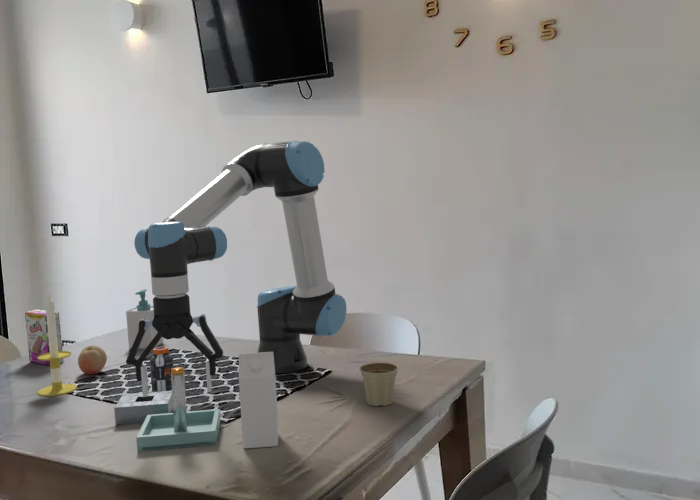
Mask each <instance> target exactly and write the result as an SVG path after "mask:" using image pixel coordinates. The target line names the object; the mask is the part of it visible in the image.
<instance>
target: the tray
mask: <svg viewBox="0 0 700 500" xmlns="http://www.w3.org/2000/svg"><path fill="white" fill-rule="evenodd" d="M186 412H187V432H176V433H174V420H173V412H172V413H164V414H152V415H147V417H146V419H145V421H144V422H142V425H141V427H140V429H139V431H138V433H137V436H136V449H137V452H147V451H149V452H150V451H159V450H169V449H170V450H171V449H173V450H174V449H182V448H184V449H185V448H193V447H194V448H195V447H206V446H217V443H218V437H219V433H220V432H219V431H220V425H221V413H220V412H221V411H220V408H216V409H203V410H191V411H186Z"/></svg>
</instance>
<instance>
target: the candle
mask: <svg viewBox="0 0 700 500" xmlns="http://www.w3.org/2000/svg"><path fill="white" fill-rule="evenodd" d="M44 304H45V310H46V317H47V328H48V339H49V350H50V352H49V353H45V354H42V355H39V356H38V357H37V358H38V360H42V361H50V367H49V368H50V378H51V385H49V386H45V387H43V388H41V389H39V390H38V391H37V395H38V396H41V397H56V396H57V397H58V396H63V395H66V394H69V393H72V391H73V392H74V390H75V391H76V390H77V389H78V386H77V385H76V384H73V383H63V381H62V370H61V368H62V367H61V363H60V359H63V360H64V359H66V358H69V357H70V356H71V355H72V352H70V351H67V350H62V351H58V343H57V332H56V321H55V312H56V310H55V302H54V300H53V299H52V298H51V294H50V292H48V293H47V299H46V301H45V303H44Z"/></svg>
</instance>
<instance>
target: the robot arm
mask: <svg viewBox="0 0 700 500" xmlns="http://www.w3.org/2000/svg"><path fill="white" fill-rule="evenodd" d="M324 174H325V162H324V159H323V156H322V153H321V152H320V150H319V149H318V147H316V146H315V145H314V144H313V143H311V142H309V141H302V140H291V141H283V142H282V141H281V142H272V143H270V142H269V143H268V142H267V143H260V144H257V145H255V146H253V147H250V148H249V149H247V150H245V151H243V152H242V153H240V154H238V155H237V156H235V157H234V158H233V159H231V160H230V161H229V162H228V163H226V164H225V165H224V166H223V167H222V169H221V173H220V174H219V175H218V176H216V178H214V179H213V180H212V181H211V182H209V183H208V184H207V185H206V186H205V187H203V188H202V189H201V190H199V191H198V192H197V193H196V194H194V195H193V196H192V197H190V198H189V199H188V200H187V201H186V202H185V203H184V204H182V205H181V206H180V207H178V208H177V209H176V210H175V211H174V212H172V213H171V214H170V215H168V216H167V217H166V218H164V219H163V220H162V222H155V223H151V224H150V225H149V226H148V227H144V228H141V229H140V230H139V231H138V232H137V233H136V235H135V238H134V241H133V242H134V244H133V245H134V248H135V251H136V253H137V255H139V257H140V258H142V259H146V260H149V265H150V279H151V280H150V281H151V292H152V295H153V299H152V306H153V308H154V319H153V320H146V319H145V318H143V319H141V320H140V322H139V331H138V334H137V336H136V338H135V341H134V343H133V346H132V348H131V349H129V350H130V351H129V353H128V354H127V358H126V359H125V363H126V364H127V365H132V366H134V367H135V376H136V378H135V379H136V381H138V382H141V389H142V390H141V391H142V393H143V397H147V395H148V393H149V391H150V390H149V382H148V381H149V380H148V369H147V363H144V361H145V360H146V359H147V357H149V355H150V353H151V352H153V349H154V347H155V345H156V344H157V343H158V341H159V340H160V339H161V337H163V339H164V340H171V339H182V338H184V337H185V339H187V340H188V341H189V342H190V343H191V344H192V345H193V346H194V347H195V348H196V349H197V350H198V351H199V352H200V353H201V354H202V355H203V356H204V357H205V358H206V360H205V373H206V374H205V375H206V392H207V393H210V392H211V393H212V390H213V385H212V384H213V382H212V376H216V372H217V367H216V366H217V365H216V360H217V359H221V358H223V355H224V351H223V349H222V347H221V345H220V344H219V342H218V340H217V338H216V337H215V335H214V333H213V331H212V330H211V328H210V327H209V324H208V322H207V317H206V315H205V314H200V315H199V316H198V315H197V316H192V313H191V304H190V303H191V302H190V296H189V294H187V293H188V292H190V289H189V287H190V286H189V278H188V277H189V276H188V273H189V271H188V265H189V264H195V263H200V262H207V261H211V262H212V261H214V260H216V259H220V258H221V257H223V256H224V255H225V253H226V252H227V249H228V238H227V235H226V233H225V232H224V231H223V230H222V229H221V227H219V226H208V225H209V224H210V223H211V222H212V221H214V220H215V218H217V217H218V216H219V215H221V214H222V213H223V212H224V211H225V210H226V209H227V208H228V207H230V206H231V205H232V204H233V203H234V202H235V201H237V200H238V199H239V198H240V197H245V196H248V195H249V194H251V193H252V192H253V191H255V190H258V189H261V188H262V189H263V188H273V191H274V194H275V195H274V196H275V198H276V199H279V200H280V201H281V202H282V203H281V204H282V207H283V214H284V220H285V224H286V225H285V226H286V230H287V236H288V237H287V238H288V241H289V247H290V254H291V259H292V264H293V270H294V276H295V281H296V286H295V285H290V286H281V287H276V288H275V287H274V288H270V289H266V290H265V289H264V290H263V291H260V292H259V293H258V295H257V306H256V308H257V320H258V331H259V332H258V334H259V345H258V348H257V352H256V353H261V352H273V354H274V364H275V375H276V374H286V373H287V374H289V373H294V372H298V371H301V370H303V369H306V367H307V366H308V356H307V354H306V352H305V348H304V347H303V344H302V341H301V335H306V336H307V335H308V336H316V337H320V338H321V337H332V336H335V335H337V334H338V333H339V332H340V331H341V329H342V328H343V325H344V323H345V321H346V317H347V302H346V300H345V298H344V297H343V296H342V295H341V294H337V293H336V288H335V284H334V283H333V282H331V281H329V280H328V273H327V267H326V261H325V256H324V248H323V244H322V243H323V242H322V237H321V236H322V235H321V231H320V224H319V219H318V212H317V207H316V199H315V196H316V195H317V192H319V184H320V183H322V181H323V179H324V178H325V175H324ZM193 324H196V326H197V327H200V330H201V332H202V334H204V337H205V338H206V340H207V342H208V344H209V345H210V346H211V348H212V350H213V351H214V352H213V351H212V350H211V349H210V348H209V347H208V346H207V345H206V344H205V343H204V342H203V341H202V340H201V339H200V338H199V337H198V336H197V335H196V334H195V332H194V331H193V330H192V329H191V326H192V325H193ZM151 325H153V327H154V328H155V329H156V330H157V332H158V333H157V334H156V336H155V337H154V338H153V340H152V341H151V342H150V344H149V345H148V346H147V348H146V349H143V351H142V352H141V354H140V355H139V357H138V358H136V355H137V353H138V350H139V349H138V348H139V346H140V344H141V341H142V339H143V336H144V334H145V332H146V330H148V329H149V328H150V326H151ZM155 348H156V347H155Z"/></svg>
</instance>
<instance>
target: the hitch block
mask: <svg viewBox="0 0 700 500" xmlns="http://www.w3.org/2000/svg"><path fill="white" fill-rule="evenodd" d="M113 410H114V421H115V425H117V426H118V425H129V424H139V423H141V424H143V423H144V421H145V419H146V417H147V415H152V414H164V413H173V400H172V390H170V391H162V392H155V391H153V392H151V391H150V392H149V393H148V395H147V397H143V392H140V393H139V392H138V393H126V394H121V397H120V398H119V400H118V401H117V403H116V404H115V406H114V407H113Z"/></svg>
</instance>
